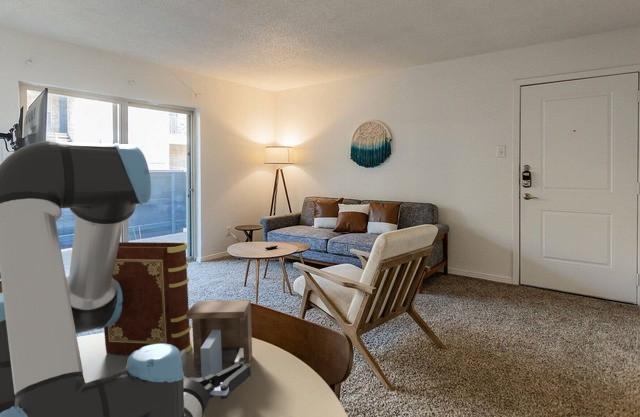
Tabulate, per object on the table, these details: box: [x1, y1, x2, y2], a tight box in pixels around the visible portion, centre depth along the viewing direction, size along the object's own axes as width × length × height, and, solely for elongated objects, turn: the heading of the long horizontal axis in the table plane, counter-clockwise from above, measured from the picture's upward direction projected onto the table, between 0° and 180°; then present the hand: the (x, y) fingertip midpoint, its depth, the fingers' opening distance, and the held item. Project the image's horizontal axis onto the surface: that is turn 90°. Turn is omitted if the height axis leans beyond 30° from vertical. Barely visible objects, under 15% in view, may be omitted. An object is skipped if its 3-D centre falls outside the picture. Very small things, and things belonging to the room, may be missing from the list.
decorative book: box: [103, 241, 193, 356], centre depth 105 cm, size 22×8×30 cm, turn 83°
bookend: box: [200, 330, 226, 397], centre depth 88 cm, size 6×10×11 cm, turn 1°
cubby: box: [186, 299, 253, 375], centre depth 97 cm, size 14×9×16 cm, turn 91°
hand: (213, 354), depth 89 cm, fingers open, 13 cm apart
